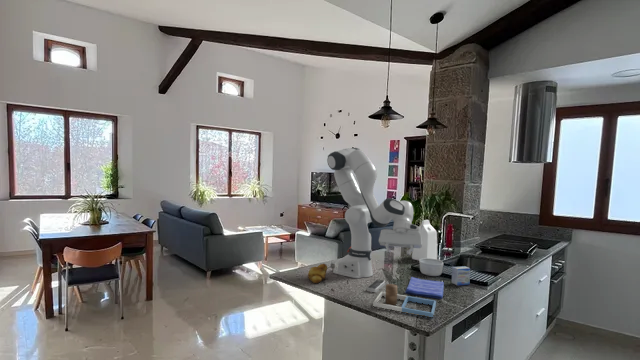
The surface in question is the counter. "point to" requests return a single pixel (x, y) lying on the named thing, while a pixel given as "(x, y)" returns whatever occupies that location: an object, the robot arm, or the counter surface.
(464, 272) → the medicine box
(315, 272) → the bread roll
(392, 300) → the brown cylinder
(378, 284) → the multiport hub
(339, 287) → the counter surface
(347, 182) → the robot arm
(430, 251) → the milk
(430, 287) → the dish towel
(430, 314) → the sorting rack
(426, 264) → the ramekin
